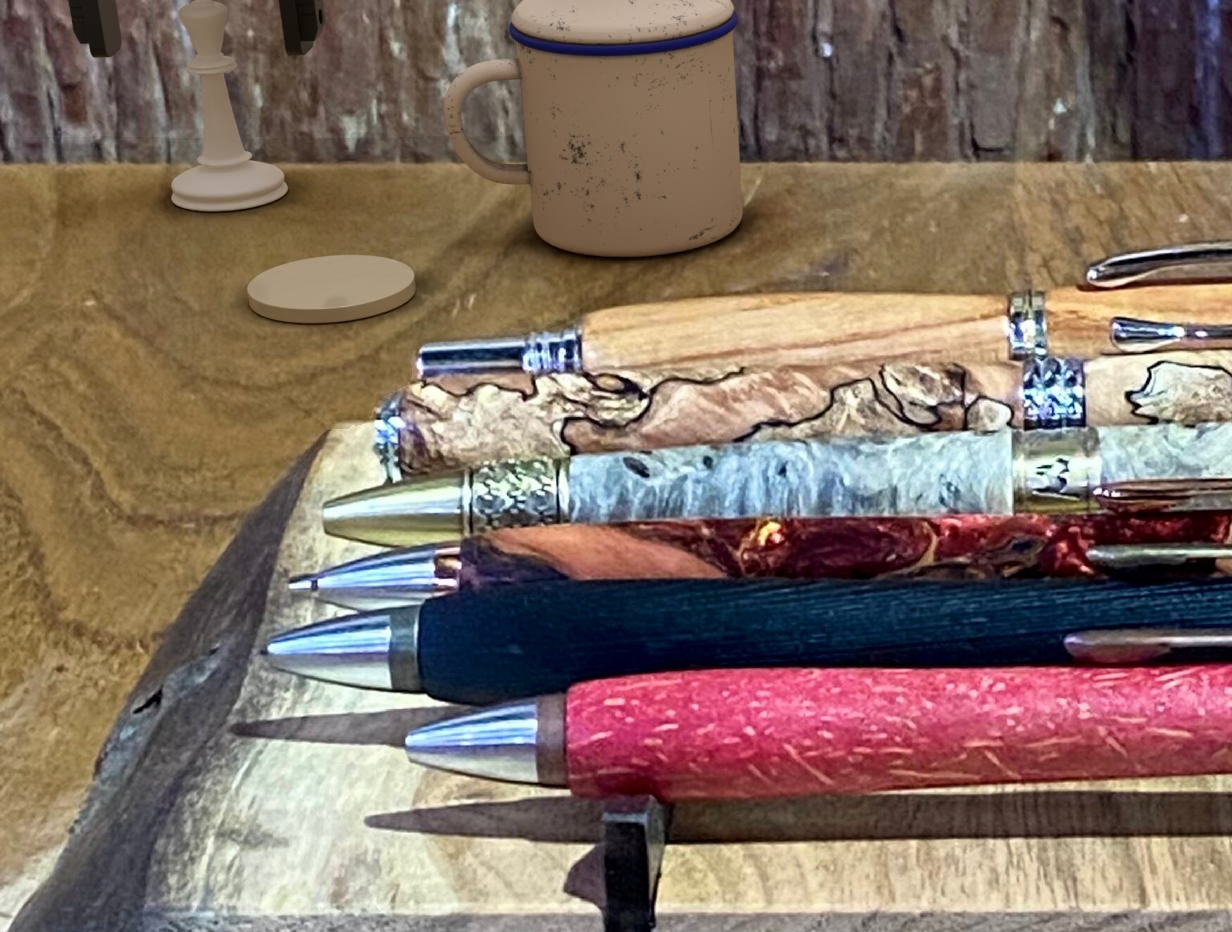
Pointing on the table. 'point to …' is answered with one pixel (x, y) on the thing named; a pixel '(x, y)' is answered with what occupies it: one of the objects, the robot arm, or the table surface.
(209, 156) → the chess piece
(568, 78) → the teacup with lid
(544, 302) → the table surface
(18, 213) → the table surface
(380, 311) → the coaster
